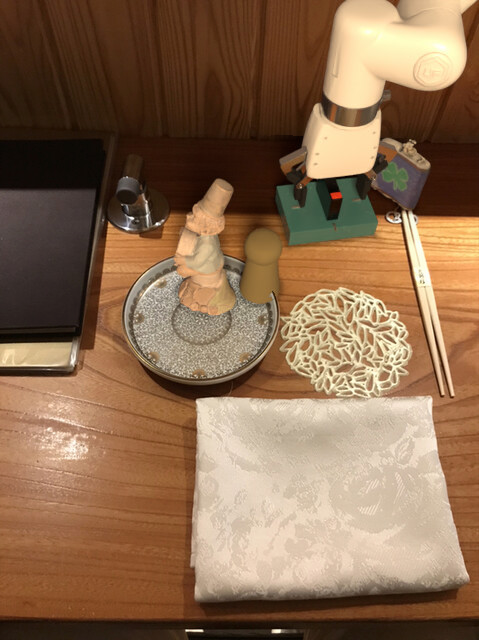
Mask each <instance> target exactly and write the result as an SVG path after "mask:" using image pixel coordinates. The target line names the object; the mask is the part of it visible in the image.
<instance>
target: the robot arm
mask: <svg viewBox="0 0 479 640" xmlns="http://www.w3.org/2000/svg"><path fill="white" fill-rule="evenodd" d="M477 1H478V0H399V1H398V3H397V5H396V6H395V5H394V4H392V3H391V2H390V1H389V0H344V1H343V2H341V4H340V5H339V6H338V8H337V9H336V10H335V14H334V16H333V21H332V26H331V33H330V40H329V47H328V52H327V59H326V65H325V72H324V79H323V85H322V90H321V91H322V92H321V98H320V102H318V103H315V104H314V106H313V108H312V110H311V112H310V115H309V117H308V120H307V123H306V127H305V130H304V135H303V139H302V142H301V148H299V149H297V150H295V151H293V152H291V153H289V154H287V155H284V156H283V157H281V158H280V159H279V160H278V163H279V167H280V169H281V172H282V173H283V174H284V175H285V177H286V179H287V180H288V181H289V182H290V183H292V184H294V190H293V196H294V199H295V200H298V203H299V206H300V208H302V207H304V206H305V203H306V196H307V186H306V185H307V184H308V183H311V182H312V180H314V179H316V180H317V179H319V178H330V177H335V178H339V177H345V176H353V175H357V177H358V178H357V182H356V190H357V192H358V195H359V197H360V199H361V200H365V199H366V196H368V192H370V191H371V188H372V186H371V184H372V180H374V179H376V178H377V174H378V173H380V172H381V171H382V170H384V169H385V168H386V167H387V166H388V163H389V162H391V160H392V159H393V158H394V157H395V156H396V155H397V153H398V152H397V150H396V148H395V146H394V145H391V144H388V143H386V142H383V141H382V140H381V131H382V130H381V129H382V111H381V106H382V104H383V103H385V102H389V101H390V100H391V98H392V93H391V90H390V89H385V86H386V81H387V82H390V83H394V84H397V85H399V86H403V87H406V88H409V89H413V90H416V91H422V92H435V91H440V90H444V89H445V88H448V87H450V86H452V85H453V84H454V83H455V82H456V81H457V80H458V79H459V78H460V77H461V76H462V74H463V72H464V70H465V67H466V64H467V60H468V47H467V42H466V36H465V29H464V28H465V27H464V22H463V17H462V15H463V14H464V12H466V11H467V10H468V9H469V8H470V7H471V6H472V5H474V4H475V3H476V2H477ZM378 153H380V154H382V155H380V156H379V157H377V154H378ZM376 157H377V158H376ZM298 164H299V166H298V167H297V168H294V166H296V165H298Z"/></svg>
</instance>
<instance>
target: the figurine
mask: <svg viewBox="0 0 479 640" xmlns="http://www.w3.org/2000/svg"><path fill="white" fill-rule="evenodd" d="M233 194H234V187H233V186H232V185H231V184H230V183H229V182H228V181H226V180H224V179H222V178H216V179H215V180H214V181H213V183H212V184H211V185H210V187H209V188H208V190H207V191H206V193H205V195H204V196H203V198H201V200H199V201H198V202H197V203H195V204H194V205H193V207H192V211H189V212H188V213H186V214H185V216H186V218H185V219H186V220H185V224H184V226H182V227H181V228H180V229H179V232H178V236H179V239H178V242H177V244H176V249H175V254H174V255H173V257H172V258H173V259H172V260H173V261H174V262H173V266H175V267H176V269H175V271H176V273H177V274H178V275H179V276H180V277H182V278H184V280H183V281H182V282H181V284H180V285H179V288H178V295H177V297H178V298H179V303H180V304H181V305H184V306H185V307H186V308H189V309H190V310H191V311H193V312H201V313H202V314H208V315H210V316H220V315H221V314H224V313H226V312H229V311H230V310H232V309H233V308H234V306H235V304H236V301H237V297H236V292H235V291H234V288H232V287H231V285H230V283H229V280H228V277H227V275H228V273H227V271H226V269H225V268H224V265H225V256H224V252H223V250H222V249H221V242H220V238H219V234H220V233H221V232H222V231H224V229H225V225H226V218H225V215H224V212H225V210H226V208H227V206H228V204H229V202H230V200H231V198H232V195H233Z"/></svg>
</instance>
